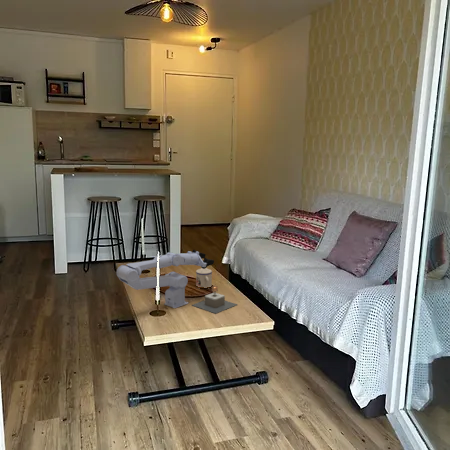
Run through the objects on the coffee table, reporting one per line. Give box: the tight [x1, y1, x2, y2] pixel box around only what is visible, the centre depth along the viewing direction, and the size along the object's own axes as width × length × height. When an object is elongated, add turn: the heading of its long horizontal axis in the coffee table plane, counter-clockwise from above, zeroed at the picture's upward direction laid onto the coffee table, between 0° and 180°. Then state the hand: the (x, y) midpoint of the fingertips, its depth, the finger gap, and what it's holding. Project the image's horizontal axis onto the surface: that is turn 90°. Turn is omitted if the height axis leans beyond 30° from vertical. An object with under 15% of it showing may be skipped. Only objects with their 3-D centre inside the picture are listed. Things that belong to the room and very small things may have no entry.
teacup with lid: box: [195, 267, 213, 288], centre depth 251 cm, size 12×9×12 cm
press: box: [191, 292, 238, 315], centre depth 224 cm, size 16×16×5 cm
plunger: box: [211, 285, 219, 297], centre depth 223 cm, size 5×5×6 cm
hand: (209, 259), depth 236 cm, fingers open, 7 cm apart
